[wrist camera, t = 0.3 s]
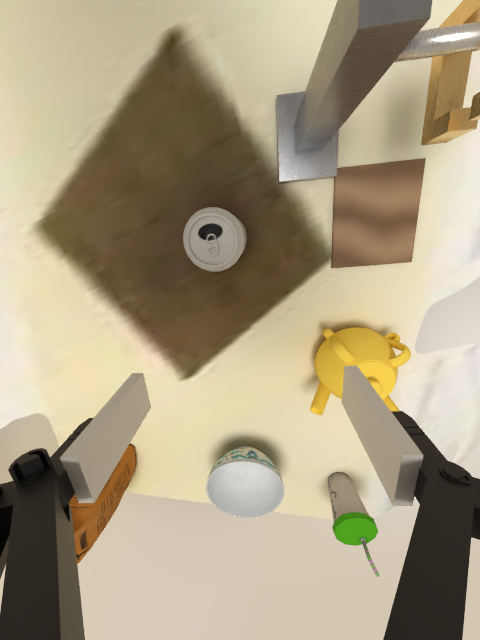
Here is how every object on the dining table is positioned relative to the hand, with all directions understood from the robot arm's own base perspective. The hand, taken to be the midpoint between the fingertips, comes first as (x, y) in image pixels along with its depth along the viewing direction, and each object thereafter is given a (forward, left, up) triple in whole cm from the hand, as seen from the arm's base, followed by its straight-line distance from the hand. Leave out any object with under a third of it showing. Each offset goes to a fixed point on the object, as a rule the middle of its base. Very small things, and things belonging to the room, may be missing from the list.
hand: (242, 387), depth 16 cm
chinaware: (+37, -4, -28) cm, 47 cm away
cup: (+44, +16, -28) cm, 55 cm away
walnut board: (-10, +19, -28) cm, 35 cm away
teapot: (+14, +16, -28) cm, 35 cm away
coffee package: (+37, -34, -28) cm, 57 cm away
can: (-9, -4, -28) cm, 30 cm away
